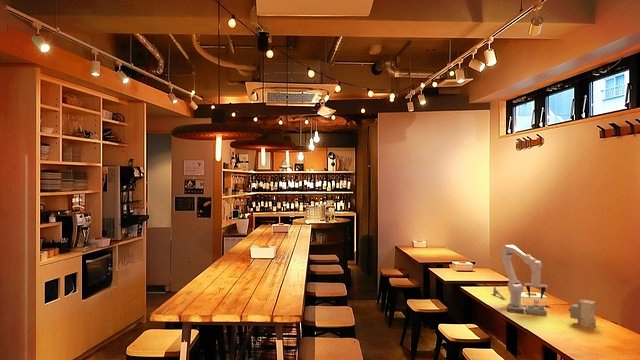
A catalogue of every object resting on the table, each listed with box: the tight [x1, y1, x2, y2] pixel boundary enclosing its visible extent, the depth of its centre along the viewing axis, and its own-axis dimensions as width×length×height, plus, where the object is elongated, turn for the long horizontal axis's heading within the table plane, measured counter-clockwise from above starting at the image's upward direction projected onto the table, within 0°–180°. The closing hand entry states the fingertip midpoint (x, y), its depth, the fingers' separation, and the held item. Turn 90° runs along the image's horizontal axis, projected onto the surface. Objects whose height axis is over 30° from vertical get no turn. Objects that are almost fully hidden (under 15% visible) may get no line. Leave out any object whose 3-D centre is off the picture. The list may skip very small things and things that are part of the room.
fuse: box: [533, 299, 540, 310], centre depth 330 cm, size 3×3×8 cm
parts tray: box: [525, 304, 548, 316], centre depth 330 cm, size 12×12×3 cm
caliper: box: [493, 286, 507, 301], centre depth 375 cm, size 20×1×6 cm, turn 4°
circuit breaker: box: [568, 299, 597, 329], centre depth 303 cm, size 8×14×15 cm, turn 45°
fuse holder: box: [507, 303, 525, 314], centre depth 334 cm, size 12×10×2 cm
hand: (535, 297), depth 333 cm, fingers open, 7 cm apart
